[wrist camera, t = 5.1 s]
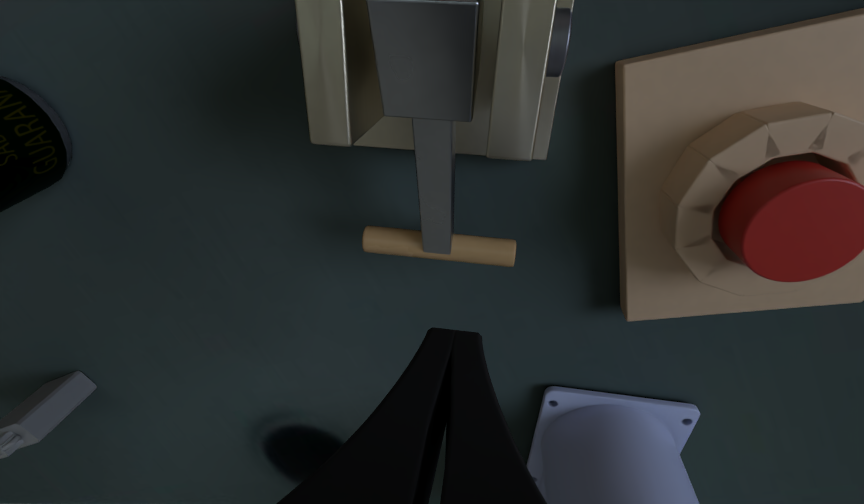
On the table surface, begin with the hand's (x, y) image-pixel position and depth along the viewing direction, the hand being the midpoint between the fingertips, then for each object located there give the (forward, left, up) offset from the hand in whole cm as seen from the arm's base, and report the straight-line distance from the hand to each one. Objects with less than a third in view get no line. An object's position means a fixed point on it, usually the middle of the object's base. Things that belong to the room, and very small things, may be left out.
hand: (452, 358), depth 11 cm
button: (+3, -10, -6) cm, 12 cm away
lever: (+5, +1, -5) cm, 7 cm away
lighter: (-16, +28, -9) cm, 34 cm away
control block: (+3, -10, -9) cm, 14 cm away
